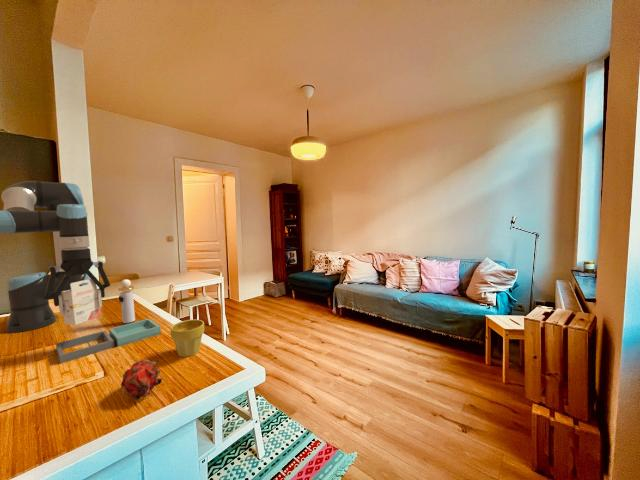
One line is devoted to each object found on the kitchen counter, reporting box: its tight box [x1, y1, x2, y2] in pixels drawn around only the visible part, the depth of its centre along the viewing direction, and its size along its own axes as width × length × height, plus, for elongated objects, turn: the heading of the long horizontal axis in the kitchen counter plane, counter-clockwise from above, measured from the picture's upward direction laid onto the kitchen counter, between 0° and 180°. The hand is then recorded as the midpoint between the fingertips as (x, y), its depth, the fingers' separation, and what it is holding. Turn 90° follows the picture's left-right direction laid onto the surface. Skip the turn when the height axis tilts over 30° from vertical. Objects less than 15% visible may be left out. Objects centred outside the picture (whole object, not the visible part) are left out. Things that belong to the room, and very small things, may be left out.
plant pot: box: [170, 318, 205, 358], centre depth 90 cm, size 10×10×10 cm
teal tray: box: [108, 318, 162, 348], centre depth 105 cm, size 14×14×3 cm
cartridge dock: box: [55, 330, 115, 364], centre depth 94 cm, size 14×14×2 cm
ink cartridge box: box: [61, 278, 100, 326], centre depth 93 cm, size 9×5×15 cm, turn 168°
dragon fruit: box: [120, 358, 163, 400], centre depth 69 cm, size 8×8×12 cm
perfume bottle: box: [117, 278, 136, 324], centre depth 118 cm, size 6×6×20 cm
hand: (81, 310), depth 94 cm, fingers closed on ink cartridge box, 10 cm apart
